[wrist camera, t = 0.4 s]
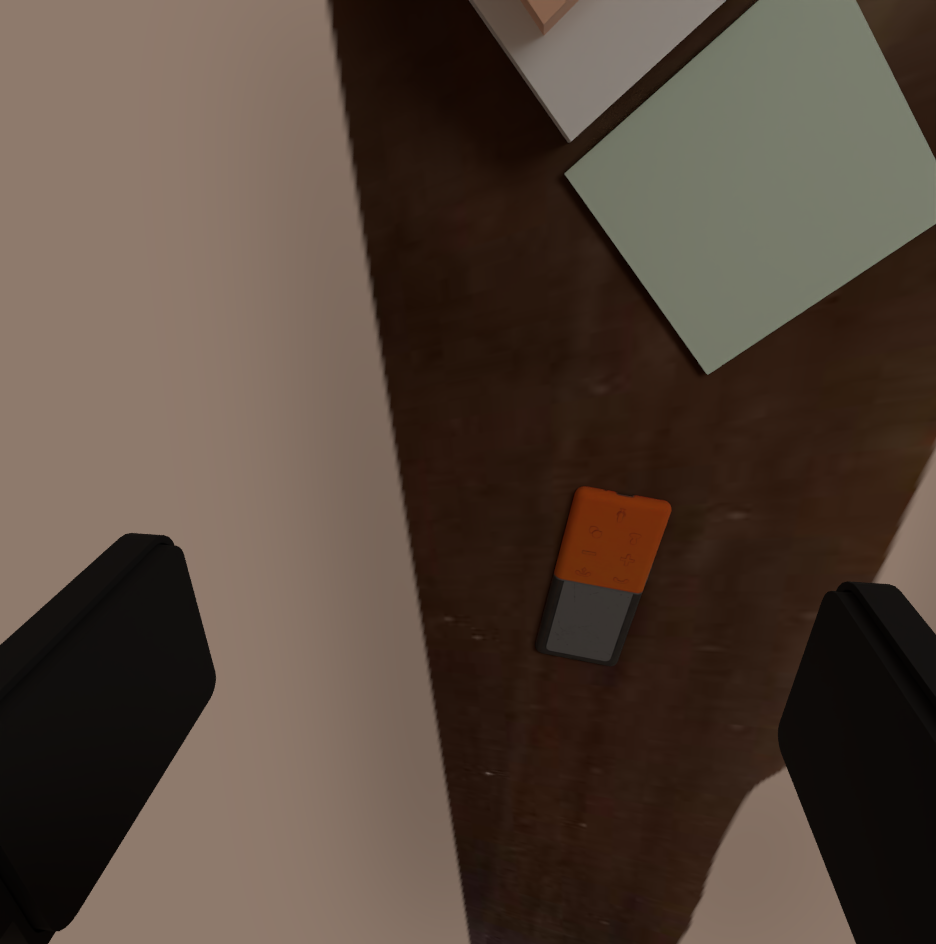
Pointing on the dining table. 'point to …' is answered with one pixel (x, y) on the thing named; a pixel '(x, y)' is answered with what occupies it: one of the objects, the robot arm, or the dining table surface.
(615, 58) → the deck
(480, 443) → the dining table surface
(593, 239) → the dining table surface
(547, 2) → the salmon rectangular block
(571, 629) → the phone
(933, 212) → the mat
